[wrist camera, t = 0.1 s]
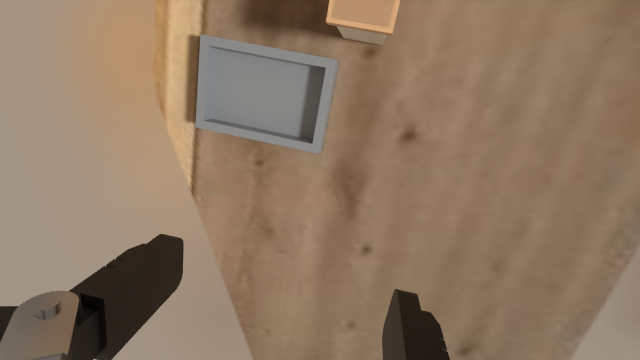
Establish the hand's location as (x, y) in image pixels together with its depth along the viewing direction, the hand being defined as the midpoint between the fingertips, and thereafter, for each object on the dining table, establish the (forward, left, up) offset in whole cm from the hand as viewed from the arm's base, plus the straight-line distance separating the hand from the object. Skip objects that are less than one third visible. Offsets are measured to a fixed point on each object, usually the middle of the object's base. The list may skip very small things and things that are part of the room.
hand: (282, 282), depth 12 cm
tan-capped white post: (-14, 0, -29) cm, 32 cm away
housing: (-4, -10, -29) cm, 31 cm away
